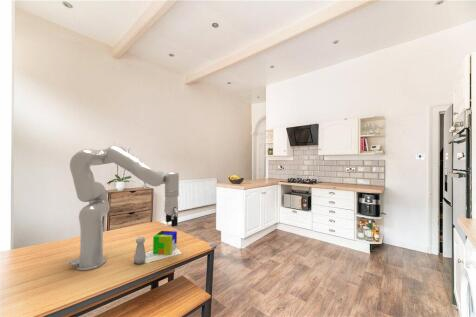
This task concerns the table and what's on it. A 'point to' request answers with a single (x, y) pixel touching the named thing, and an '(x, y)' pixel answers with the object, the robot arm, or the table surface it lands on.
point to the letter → (159, 256)
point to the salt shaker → (140, 251)
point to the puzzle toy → (165, 242)
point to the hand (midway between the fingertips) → (171, 223)
